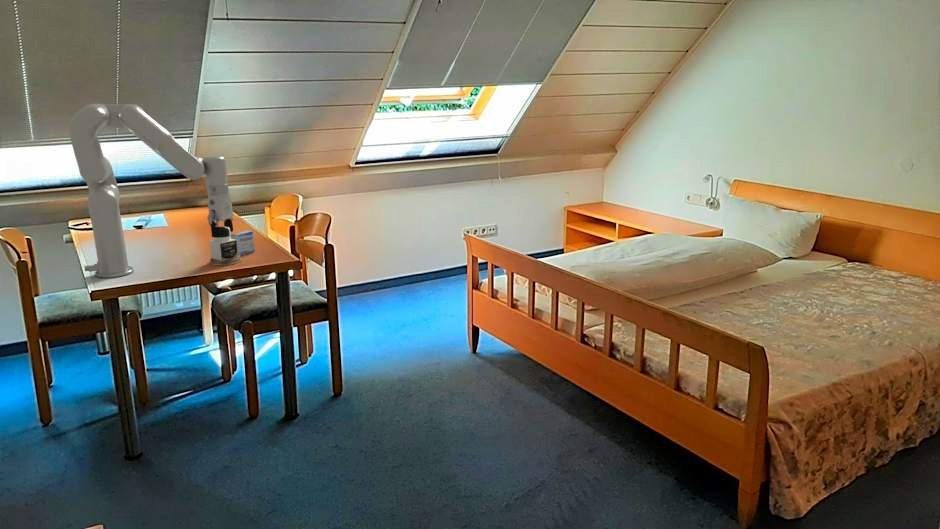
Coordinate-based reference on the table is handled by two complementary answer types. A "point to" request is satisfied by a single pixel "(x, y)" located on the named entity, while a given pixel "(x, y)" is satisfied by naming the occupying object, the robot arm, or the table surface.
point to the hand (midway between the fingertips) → (222, 234)
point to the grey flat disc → (226, 262)
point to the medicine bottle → (223, 246)
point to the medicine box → (244, 242)
